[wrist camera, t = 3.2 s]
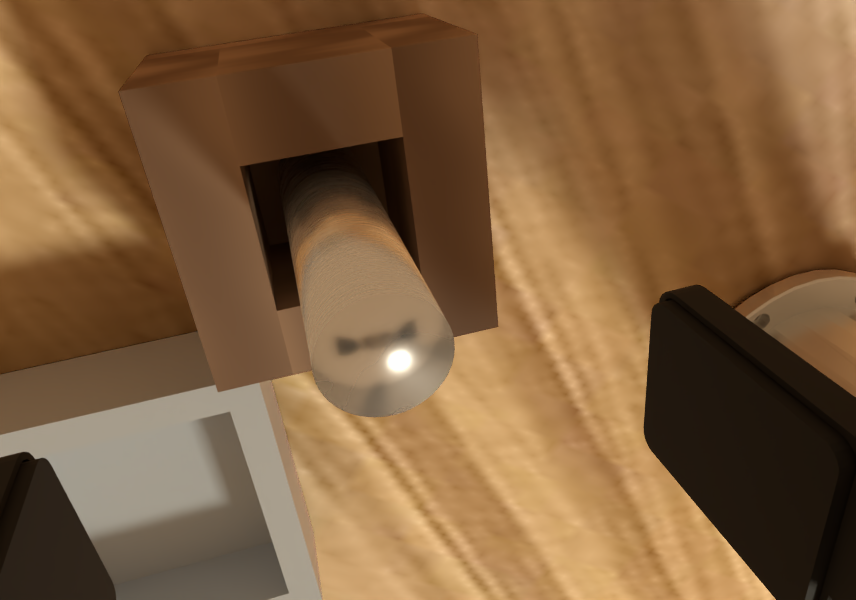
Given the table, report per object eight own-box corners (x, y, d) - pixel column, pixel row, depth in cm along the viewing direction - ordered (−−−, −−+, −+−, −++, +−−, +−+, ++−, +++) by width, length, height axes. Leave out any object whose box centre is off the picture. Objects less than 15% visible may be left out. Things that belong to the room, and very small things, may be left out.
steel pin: (351, 127, 23) (447, 279, 13) (364, 205, 24) (460, 398, 14) (268, 142, 22) (297, 311, 12) (287, 220, 24) (326, 431, 13)
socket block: (422, 13, 23) (477, 33, 18) (448, 253, 27) (498, 326, 22) (146, 55, 21) (118, 91, 16) (221, 302, 26) (218, 392, 21)
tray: (253, 318, 26) (256, 375, 23) (313, 533, 32) (323, 603, 29) (-80, 392, 24) (-132, 465, 21) (48, 606, 30) (24, 690, 27)
